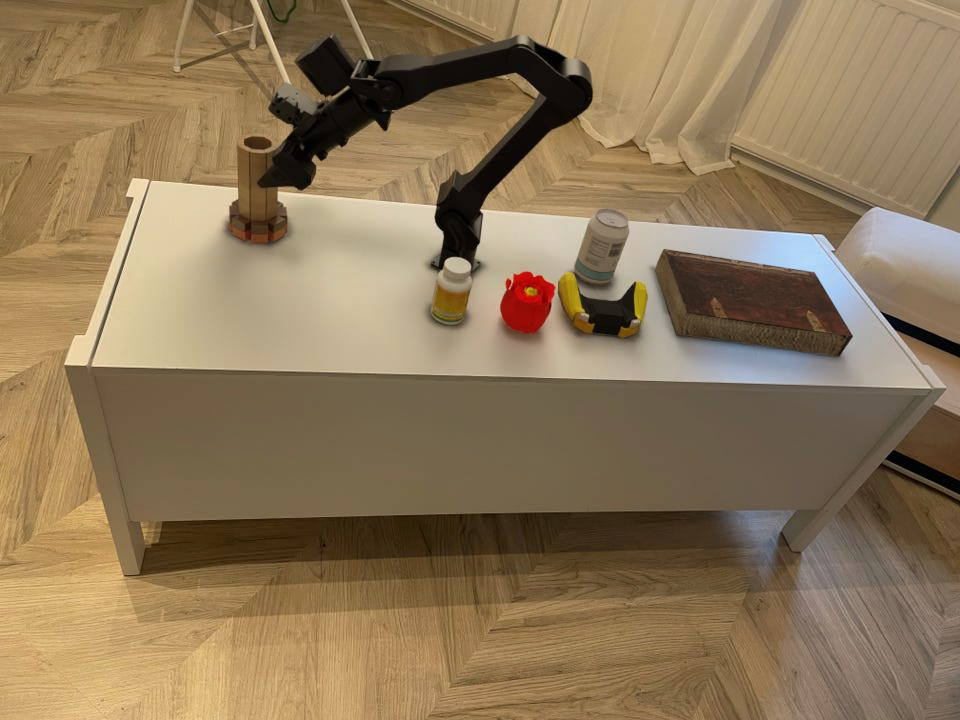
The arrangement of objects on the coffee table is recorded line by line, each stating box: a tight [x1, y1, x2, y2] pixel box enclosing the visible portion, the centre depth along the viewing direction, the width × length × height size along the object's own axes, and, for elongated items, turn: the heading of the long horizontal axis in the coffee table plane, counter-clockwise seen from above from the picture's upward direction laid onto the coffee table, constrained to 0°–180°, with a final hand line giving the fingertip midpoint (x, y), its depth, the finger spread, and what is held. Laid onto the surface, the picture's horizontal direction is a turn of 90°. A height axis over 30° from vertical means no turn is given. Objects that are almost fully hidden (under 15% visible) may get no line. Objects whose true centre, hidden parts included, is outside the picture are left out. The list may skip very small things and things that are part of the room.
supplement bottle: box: [430, 257, 473, 326], centre depth 117 cm, size 5×5×10 cm
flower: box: [499, 270, 556, 335], centre depth 119 cm, size 8×8×8 cm
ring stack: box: [228, 198, 288, 244], centre depth 126 cm, size 9×9×3 cm
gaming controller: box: [557, 271, 649, 339], centre depth 125 cm, size 15×6×10 cm
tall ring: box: [236, 132, 279, 221], centre depth 121 cm, size 6×6×12 cm
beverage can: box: [573, 208, 630, 286], centre depth 131 cm, size 7×7×12 cm
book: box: [654, 248, 854, 358], centre depth 134 cm, size 29×19×5 cm, turn 91°
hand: (267, 170), depth 121 cm, fingers open, 9 cm apart
